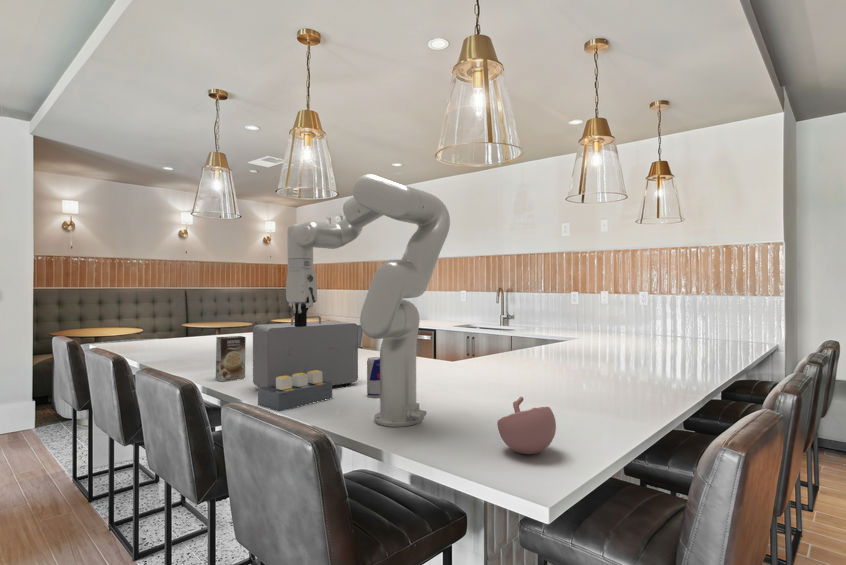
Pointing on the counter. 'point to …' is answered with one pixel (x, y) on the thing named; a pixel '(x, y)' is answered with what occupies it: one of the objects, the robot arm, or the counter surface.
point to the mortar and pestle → (528, 429)
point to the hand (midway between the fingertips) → (300, 326)
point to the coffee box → (230, 358)
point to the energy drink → (373, 377)
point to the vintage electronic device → (305, 351)
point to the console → (293, 395)
